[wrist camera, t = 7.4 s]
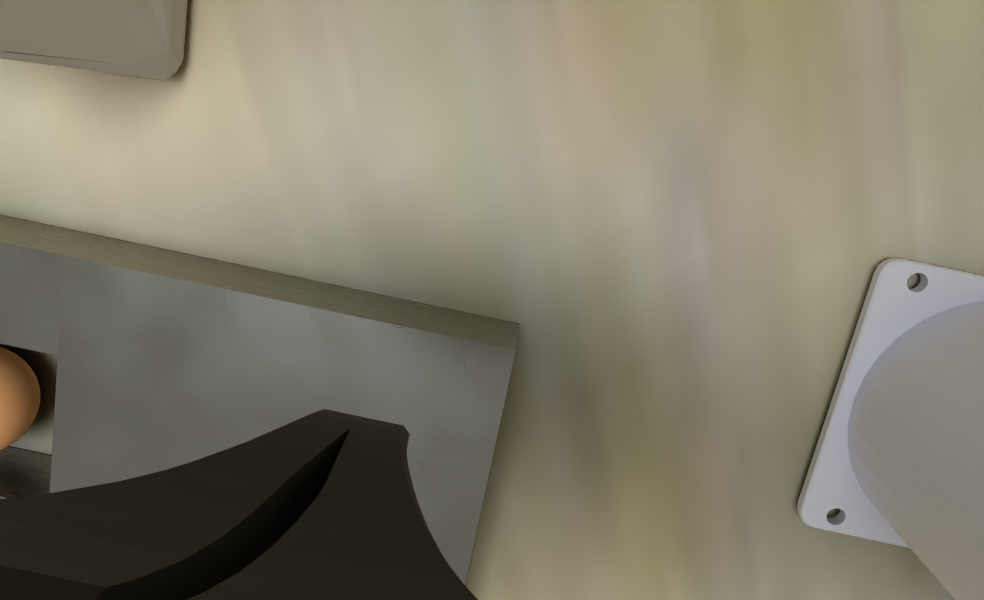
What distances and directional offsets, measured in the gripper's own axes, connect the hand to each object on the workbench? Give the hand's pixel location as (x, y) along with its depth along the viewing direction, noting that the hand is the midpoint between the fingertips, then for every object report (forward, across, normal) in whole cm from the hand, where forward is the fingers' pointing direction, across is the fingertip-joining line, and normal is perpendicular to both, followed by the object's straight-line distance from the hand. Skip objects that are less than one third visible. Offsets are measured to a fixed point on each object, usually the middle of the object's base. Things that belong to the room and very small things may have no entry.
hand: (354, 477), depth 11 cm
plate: (+10, +7, +5) cm, 13 cm away
